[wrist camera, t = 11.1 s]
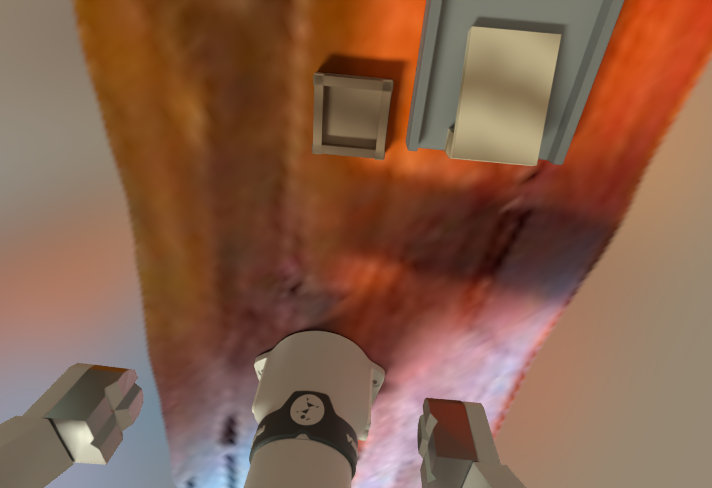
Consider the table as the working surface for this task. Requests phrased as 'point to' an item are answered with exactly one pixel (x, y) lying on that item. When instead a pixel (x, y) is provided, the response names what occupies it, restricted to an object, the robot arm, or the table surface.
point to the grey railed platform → (512, 12)
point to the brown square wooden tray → (351, 115)
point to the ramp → (503, 96)
